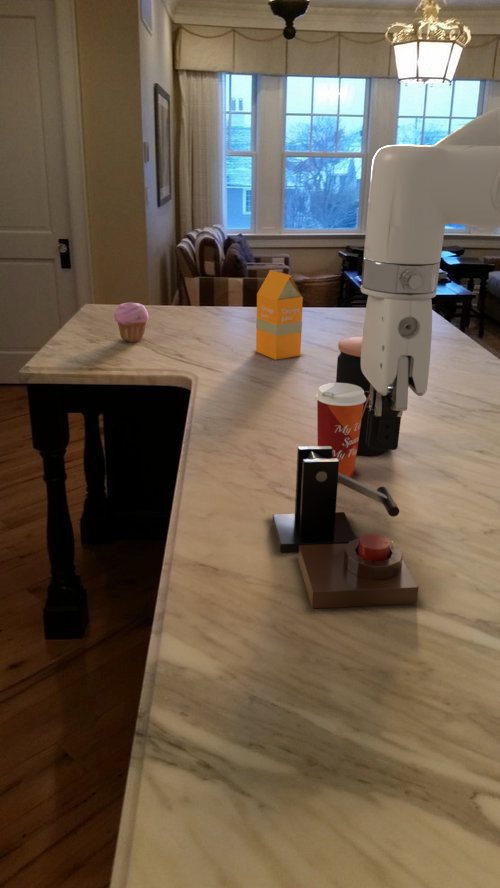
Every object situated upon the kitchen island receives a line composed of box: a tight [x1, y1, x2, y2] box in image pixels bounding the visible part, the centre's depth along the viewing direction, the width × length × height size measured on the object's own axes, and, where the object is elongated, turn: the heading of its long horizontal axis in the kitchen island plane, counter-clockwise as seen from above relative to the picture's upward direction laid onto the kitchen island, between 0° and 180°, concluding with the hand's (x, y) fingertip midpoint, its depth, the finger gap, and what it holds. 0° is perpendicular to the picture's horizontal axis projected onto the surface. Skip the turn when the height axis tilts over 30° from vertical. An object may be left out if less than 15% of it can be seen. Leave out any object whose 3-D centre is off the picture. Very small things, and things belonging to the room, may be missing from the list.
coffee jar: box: [335, 335, 389, 457], centre depth 119 cm, size 11×11×18 cm
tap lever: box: [307, 451, 400, 518], centre depth 91 cm, size 13×6×2 cm, turn 96°
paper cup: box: [314, 382, 366, 478], centre depth 109 cm, size 8×8×14 cm
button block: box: [297, 537, 420, 609], centre depth 83 cm, size 12×10×4 cm
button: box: [358, 533, 391, 561], centre depth 82 cm, size 4×4×2 cm
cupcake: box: [113, 301, 149, 343], centre depth 185 cm, size 9×9×10 cm
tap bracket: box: [272, 445, 357, 553], centre depth 91 cm, size 10×8×12 cm
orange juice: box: [255, 269, 304, 361], centre depth 173 cm, size 8×9×20 cm
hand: (381, 446), depth 78 cm, fingers closed
